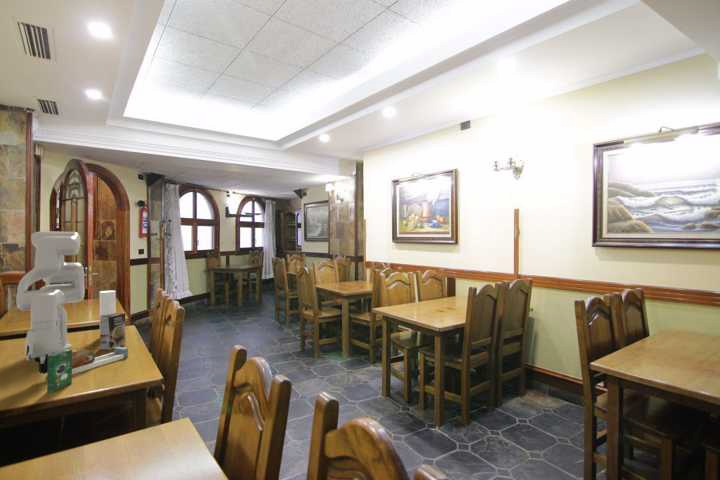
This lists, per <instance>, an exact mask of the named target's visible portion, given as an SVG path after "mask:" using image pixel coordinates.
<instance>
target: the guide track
mask: <svg viewBox="0 0 720 480" xmlns="http://www.w3.org/2000/svg"><path fill="white" fill-rule="evenodd" d="M125 358H129V348H127V347H123V346H120V347H115V348H114V349H113V352H109V353H106V354H103V355H100V356H97V357H96V356H95V360H94V362H93V363H90V364H87V365H84V366H80V367H77V368H74V369H72V375H76V374H79V373H82V372H85V371H87V370H91V369H93V368H97V367H101V366H104V365H106V364H110V363H114V362H116V361H119V360H123V359H125Z"/></svg>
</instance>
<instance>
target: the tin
mask: <svg viewBox="0 0 720 480" xmlns="http://www.w3.org/2000/svg"><path fill="white" fill-rule="evenodd" d="M95 355H96V354H95V353H94V351H92V350H91V349H87V348H80V349H76V350H72V369H74V368H77V367H80V366H84V365H87V364H90V363H93V362H94V360H95V358H96V356H95Z"/></svg>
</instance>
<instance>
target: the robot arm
mask: <svg viewBox="0 0 720 480" xmlns="http://www.w3.org/2000/svg"><path fill="white" fill-rule="evenodd" d="M30 240H31V243H32V245H33V246H34V248H35V253H34V254H35V256H34V267H33V268H32V269H31V270H29V271H28V272H26V274H24V276H22V278H21V280H20V281H19V283H18V285H17V291H16V306H17V308H18V309H19V310H21V311H30V330H28V331H27V333H26V337H25V346H24V355H25V356H26V361H28V362H36V363H38V372H39V373H40V374H43V375H44V374H47V372H48V355H51V354H54V353H57V352H60V351H63V350H65V349H70V348H71V347H72V344H71V343H68V320H67V318H68V313H67V310H66V309H65V308H64V307H63V306H62V304H72V303H80V302H82V301H83V300H84V298H85V292H86V291H85V270H84V266H83V265H82V264H81V263H79V262H65V256H75V255H78V254H79V252H80V250H81V249H80V248H81V244H82V243H81V240H82V239H81V236H80V234H79V233H78V232H76V231H56V230H55V231H51V230H49V231H47V230H46V231H36V232H33V233H32V234H31V237H30ZM40 280H42V281H43V282H44V283H47V284H48V285H46V284H45V285H43V286H42V287H40V288H39V289H36V290H28V289H29V288H30V286H32V285H33V284H35V283H36V282H38V281H40Z"/></svg>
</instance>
